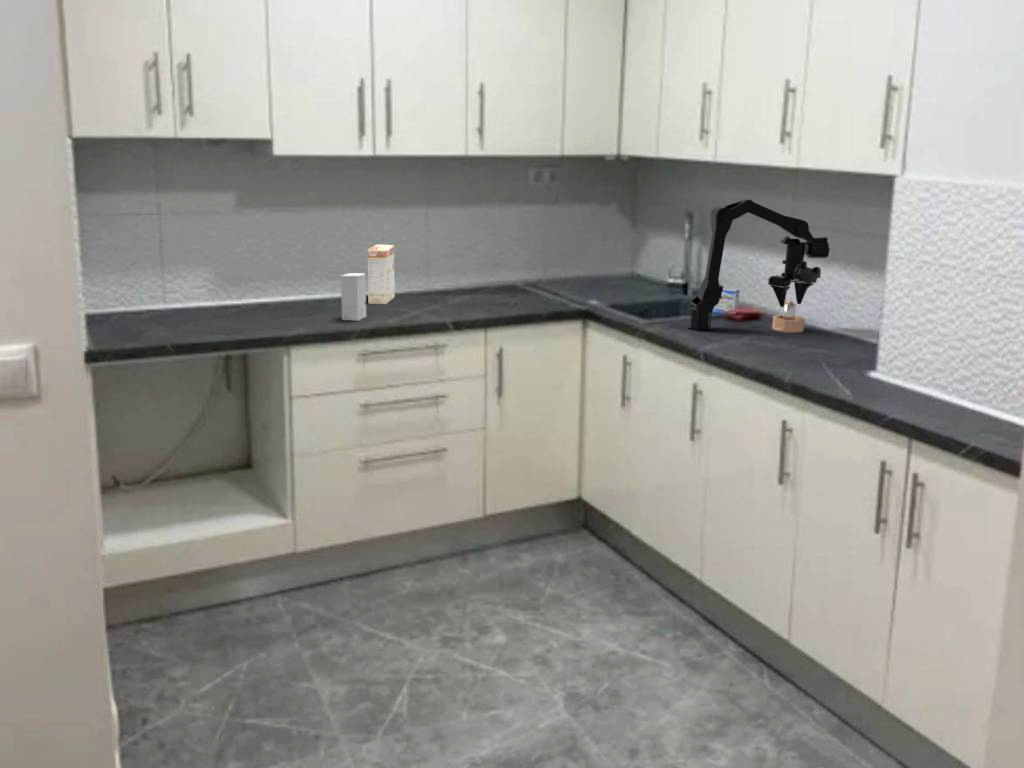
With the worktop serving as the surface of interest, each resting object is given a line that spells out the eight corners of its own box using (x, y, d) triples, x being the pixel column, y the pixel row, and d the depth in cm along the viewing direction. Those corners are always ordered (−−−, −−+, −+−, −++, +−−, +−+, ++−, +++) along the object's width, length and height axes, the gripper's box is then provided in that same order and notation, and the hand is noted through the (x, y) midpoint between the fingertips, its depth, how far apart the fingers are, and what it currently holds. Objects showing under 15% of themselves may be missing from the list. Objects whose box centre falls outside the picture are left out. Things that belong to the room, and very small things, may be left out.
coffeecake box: (376, 296, 386) (376, 244, 381) (395, 297, 385) (395, 244, 380) (367, 303, 371) (366, 249, 367) (386, 304, 371) (386, 249, 366)
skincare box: (358, 321, 339) (357, 276, 335) (340, 320, 340) (339, 275, 337) (366, 316, 347) (366, 272, 343) (349, 315, 348) (349, 271, 345)
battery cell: (789, 328, 340) (791, 303, 337) (779, 326, 343) (781, 301, 340) (796, 327, 342) (799, 301, 340) (786, 325, 345) (788, 300, 343)
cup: (791, 333, 336) (792, 321, 335) (766, 328, 343) (767, 316, 342) (809, 330, 342) (810, 318, 341) (784, 325, 349) (785, 313, 348)
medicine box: (712, 313, 369) (714, 289, 367) (716, 311, 373) (718, 287, 371) (734, 315, 366) (736, 291, 363) (737, 313, 369) (739, 289, 367)
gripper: (798, 262, 325) (794, 312, 329) (833, 258, 337) (828, 306, 340) (769, 258, 333) (765, 306, 337) (803, 254, 345) (799, 301, 349)
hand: (790, 305), depth 341 cm, fingers open, 9 cm apart
